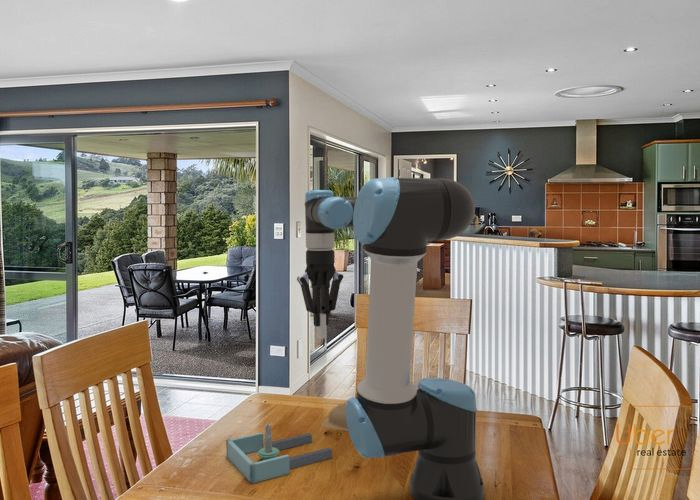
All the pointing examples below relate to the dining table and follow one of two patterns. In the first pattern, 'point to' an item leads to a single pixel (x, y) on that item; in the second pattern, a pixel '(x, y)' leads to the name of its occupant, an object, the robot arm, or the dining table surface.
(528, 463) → the dining table surface
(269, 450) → the screw
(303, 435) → the slot
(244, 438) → the bracket
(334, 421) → the mask
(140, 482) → the dining table surface
